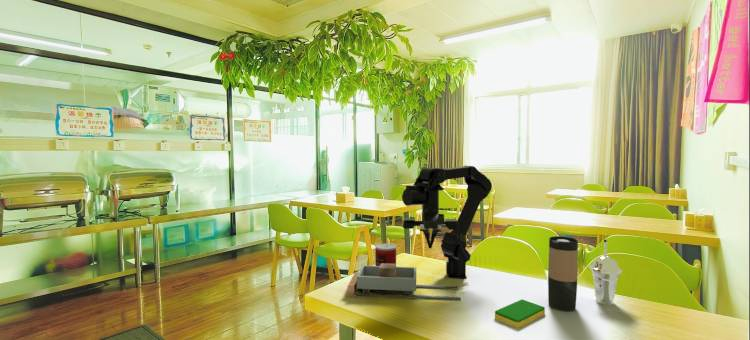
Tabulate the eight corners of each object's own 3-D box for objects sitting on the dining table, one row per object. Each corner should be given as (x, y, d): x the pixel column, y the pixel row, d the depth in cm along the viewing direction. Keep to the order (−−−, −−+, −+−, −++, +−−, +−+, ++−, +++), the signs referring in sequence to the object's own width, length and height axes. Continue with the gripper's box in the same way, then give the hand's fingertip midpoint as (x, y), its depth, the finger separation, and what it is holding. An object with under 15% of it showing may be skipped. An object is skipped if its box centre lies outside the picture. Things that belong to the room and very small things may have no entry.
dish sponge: (493, 319, 99) (494, 310, 99) (521, 306, 107) (522, 298, 107) (517, 329, 93) (518, 320, 93) (545, 315, 102) (545, 307, 101)
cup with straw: (627, 303, 108) (629, 237, 107) (610, 310, 104) (612, 241, 103) (598, 294, 116) (599, 232, 115) (581, 299, 111) (582, 235, 110)
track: (457, 286, 122) (457, 276, 122) (461, 302, 109) (461, 290, 109) (355, 282, 126) (355, 272, 126) (348, 296, 114) (348, 285, 113)
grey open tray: (416, 283, 123) (416, 267, 123) (416, 296, 112) (416, 279, 111) (362, 280, 125) (362, 265, 125) (356, 293, 114) (356, 276, 114)
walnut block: (395, 278, 121) (395, 263, 120) (394, 283, 116) (394, 268, 115) (381, 277, 121) (381, 263, 121) (379, 283, 116) (379, 267, 116)
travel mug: (573, 303, 109) (575, 237, 108) (579, 313, 102) (580, 243, 101) (546, 299, 111) (547, 235, 110) (549, 309, 104) (550, 241, 103)
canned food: (396, 272, 137) (396, 243, 137) (395, 279, 129) (395, 249, 129) (376, 271, 138) (376, 243, 138) (374, 278, 130) (374, 248, 130)
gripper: (402, 206, 119) (402, 253, 119) (460, 207, 116) (459, 255, 117) (403, 202, 130) (403, 245, 130) (456, 203, 128) (456, 246, 128)
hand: (430, 248), depth 126 cm, fingers closed
